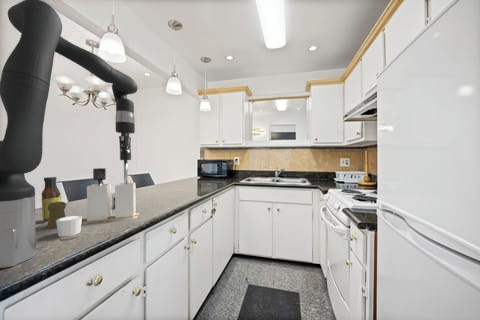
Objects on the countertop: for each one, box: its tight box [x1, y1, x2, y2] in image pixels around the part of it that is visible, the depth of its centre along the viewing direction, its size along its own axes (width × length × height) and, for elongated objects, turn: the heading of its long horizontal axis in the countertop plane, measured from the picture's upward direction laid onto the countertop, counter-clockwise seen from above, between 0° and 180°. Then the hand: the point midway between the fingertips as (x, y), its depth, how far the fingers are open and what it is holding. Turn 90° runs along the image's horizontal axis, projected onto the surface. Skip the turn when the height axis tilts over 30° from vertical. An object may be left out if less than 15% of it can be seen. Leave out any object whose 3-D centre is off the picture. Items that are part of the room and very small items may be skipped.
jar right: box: [114, 182, 137, 219], centre depth 86 cm, size 7×7×15 cm
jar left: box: [86, 183, 112, 222], centre depth 83 cm, size 7×7×15 cm
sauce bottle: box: [41, 176, 62, 223], centre depth 85 cm, size 7×6×20 cm
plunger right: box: [119, 148, 132, 185], centre depth 86 cm, size 5×5×20 cm
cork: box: [46, 201, 67, 230], centre depth 74 cm, size 6×6×11 cm
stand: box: [81, 211, 140, 225], centre depth 85 cm, size 10×20×2 cm, turn 112°
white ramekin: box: [56, 215, 83, 242], centre depth 67 cm, size 7×7×7 cm
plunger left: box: [92, 167, 107, 186], centre depth 83 cm, size 5×5×20 cm
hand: (125, 159), depth 86 cm, fingers closed on plunger right, 4 cm apart
